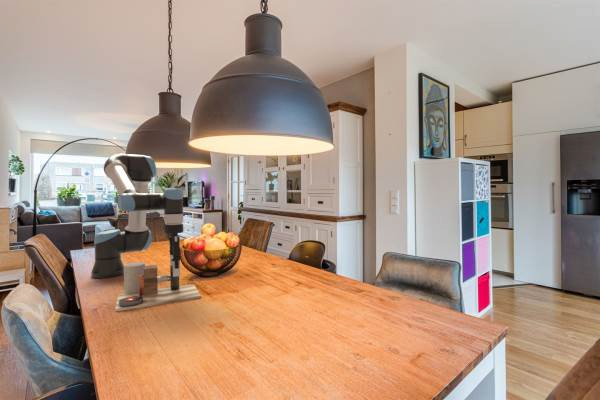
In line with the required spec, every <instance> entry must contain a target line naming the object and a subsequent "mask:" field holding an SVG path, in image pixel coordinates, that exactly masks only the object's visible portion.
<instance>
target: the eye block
mask: <svg viewBox="0 0 600 400" xmlns="http://www.w3.org/2000/svg"><path fill="white" fill-rule="evenodd" d="M157 277H158V264H152V265H150V264H149V265H145V266H144V296H141V297H143V302H142V303H140V304H138V305H134V306H128V307H122V306H119V301H120V300H121V299H123V298H126V297H132V296H139V292H133V293H126V294H125V293H121V294H118V295H117V299H116V303H115V309H114V310H115V311H114V312H123V311H128V310H134V309H141V308H146V307H152V306H160V305H166V304H171V303H178V302H184V301H191V300H197V299H201V298H202V295H201V293H200V291H199V290H198V288H197V287H196V285H195V284H194V283H193V284H185V285H179V289H177V290H171V286H170V287H164V288H158V287H159V285H158V284H159V282H158V281H157Z"/></svg>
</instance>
